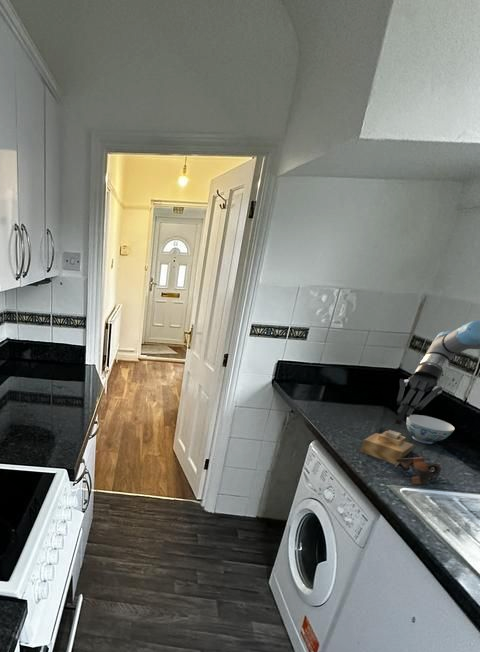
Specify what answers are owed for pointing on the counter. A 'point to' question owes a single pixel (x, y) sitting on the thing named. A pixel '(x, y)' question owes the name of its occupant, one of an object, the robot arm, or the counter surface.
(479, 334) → the robot arm
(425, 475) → the brown toy vehicle
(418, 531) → the counter surface
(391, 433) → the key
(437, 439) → the chinaware
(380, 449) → the stepped wooden block
